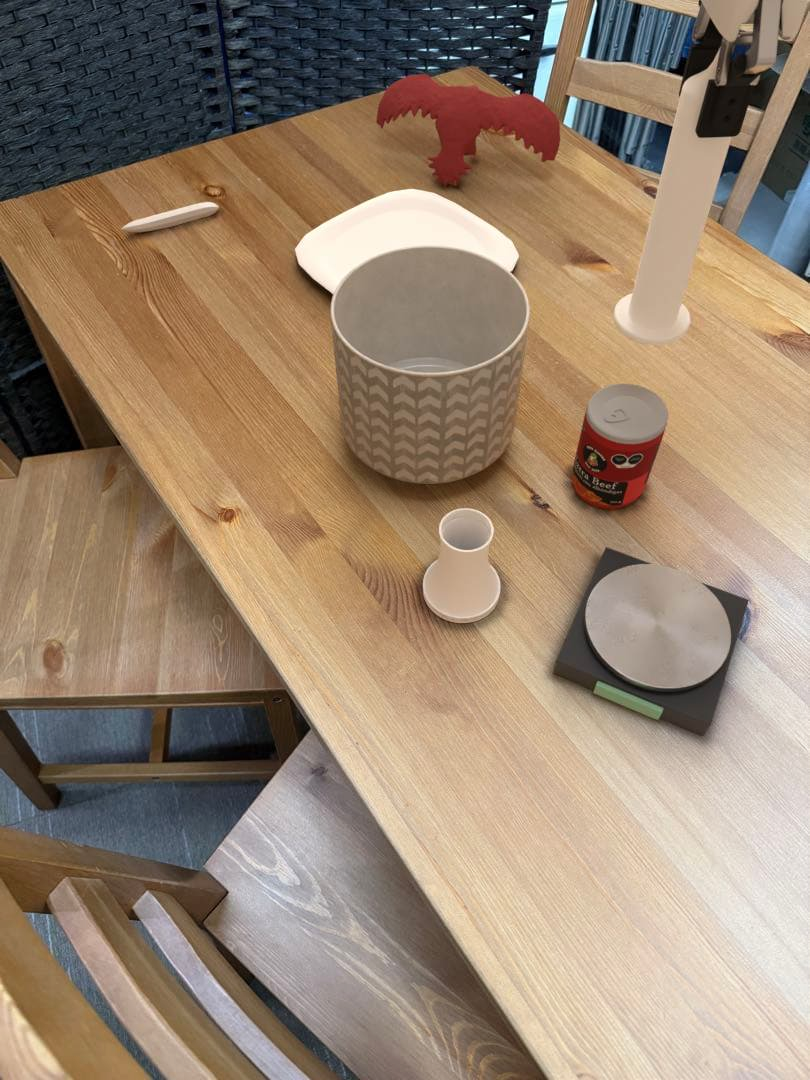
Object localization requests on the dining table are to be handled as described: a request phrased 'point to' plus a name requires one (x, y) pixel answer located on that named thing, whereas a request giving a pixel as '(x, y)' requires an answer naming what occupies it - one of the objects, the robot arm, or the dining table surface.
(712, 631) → the scale
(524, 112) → the decorative bird sculpture
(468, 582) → the vase
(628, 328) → the candle
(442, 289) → the planter
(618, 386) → the canned food
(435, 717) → the dining table surface
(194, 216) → the pen
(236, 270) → the dining table surface
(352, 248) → the plate
